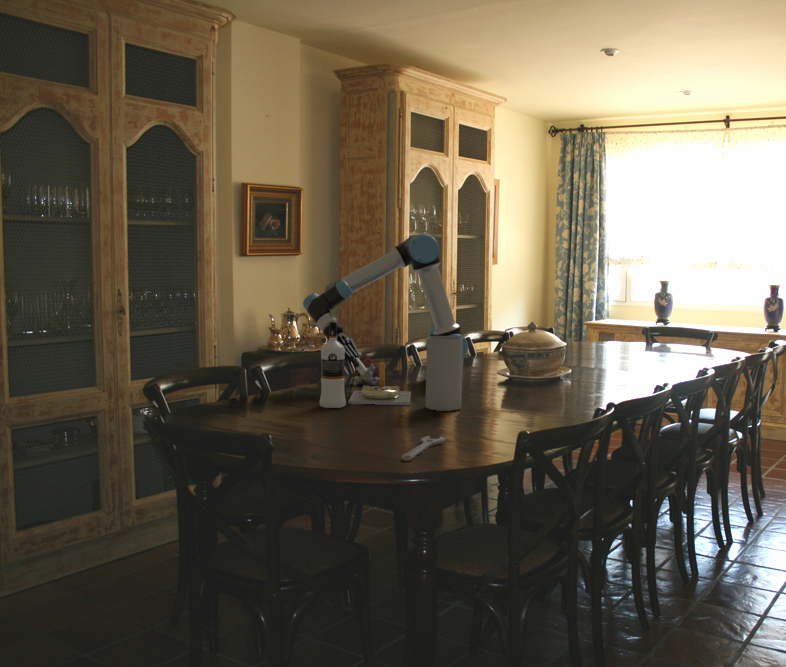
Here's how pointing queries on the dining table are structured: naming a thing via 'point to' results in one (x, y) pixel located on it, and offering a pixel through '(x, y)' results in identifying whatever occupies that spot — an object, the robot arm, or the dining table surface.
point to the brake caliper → (367, 374)
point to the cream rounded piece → (381, 388)
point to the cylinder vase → (444, 373)
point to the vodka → (332, 371)
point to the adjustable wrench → (423, 446)
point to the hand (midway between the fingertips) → (364, 372)
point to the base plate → (359, 399)
